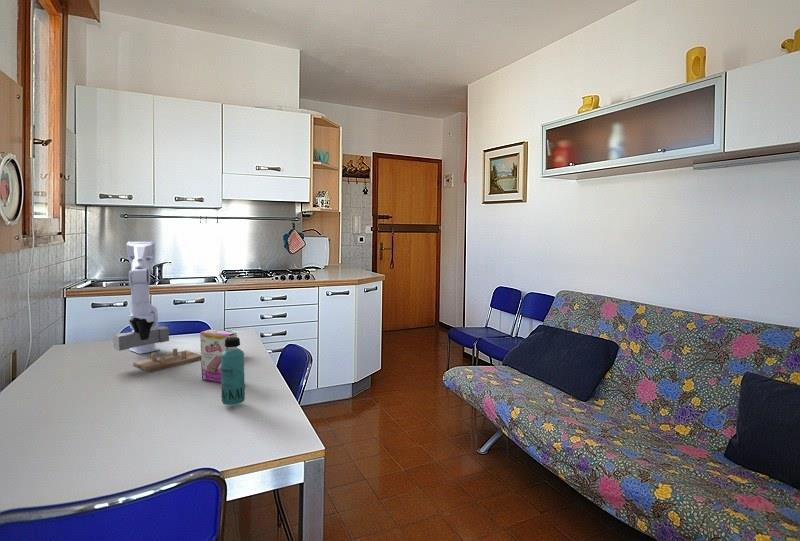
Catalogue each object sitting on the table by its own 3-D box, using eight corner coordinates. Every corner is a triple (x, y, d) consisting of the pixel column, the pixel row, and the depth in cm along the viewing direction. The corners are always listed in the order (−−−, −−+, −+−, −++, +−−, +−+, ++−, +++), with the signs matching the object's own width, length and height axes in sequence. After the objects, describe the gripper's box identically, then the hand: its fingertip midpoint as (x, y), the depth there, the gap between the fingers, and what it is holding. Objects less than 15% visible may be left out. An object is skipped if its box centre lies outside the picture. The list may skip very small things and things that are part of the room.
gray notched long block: (119, 350, 161) (118, 336, 160) (113, 348, 164) (113, 334, 163) (169, 340, 175) (168, 327, 174) (163, 339, 178) (162, 326, 177)
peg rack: (133, 365, 168) (132, 355, 168) (186, 353, 184) (185, 344, 184) (149, 372, 161) (149, 362, 161) (203, 358, 177) (202, 349, 177)
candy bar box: (200, 380, 154) (199, 332, 152) (211, 376, 158) (210, 328, 157) (228, 385, 150) (227, 335, 148) (238, 380, 155) (237, 331, 153)
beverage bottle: (225, 401, 136) (223, 335, 134) (248, 401, 137) (246, 335, 135) (218, 410, 130) (216, 341, 128) (242, 410, 130) (241, 340, 128)
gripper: (119, 301, 169) (121, 337, 170) (138, 305, 160) (140, 344, 162) (139, 298, 174) (141, 334, 176) (159, 303, 166) (160, 340, 167)
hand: (142, 338), depth 169 cm, fingers closed on gray notched long block, 3 cm apart
